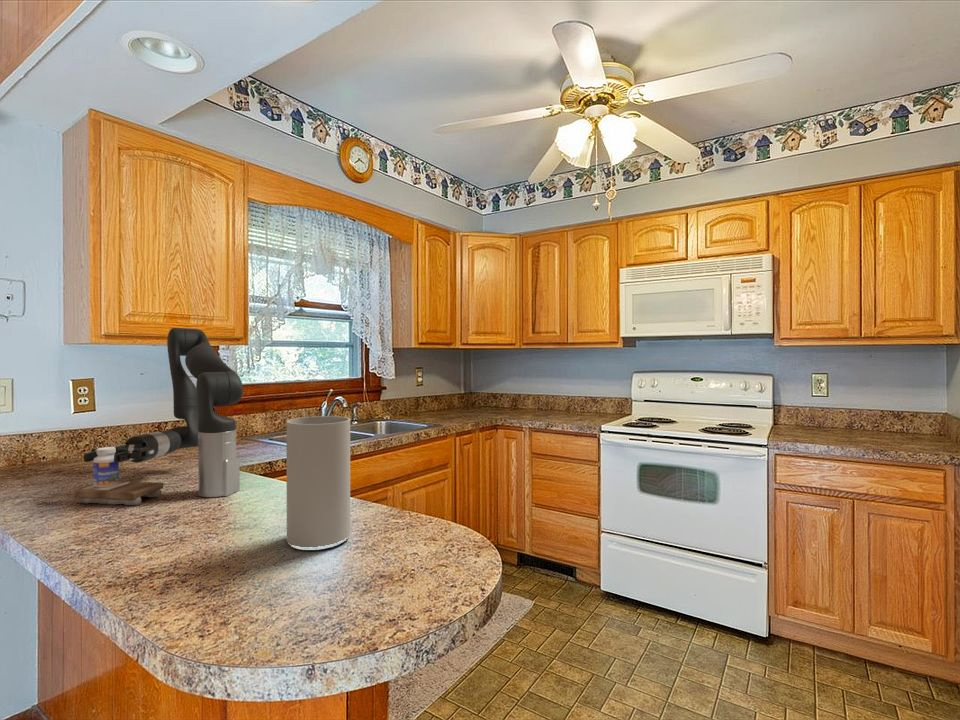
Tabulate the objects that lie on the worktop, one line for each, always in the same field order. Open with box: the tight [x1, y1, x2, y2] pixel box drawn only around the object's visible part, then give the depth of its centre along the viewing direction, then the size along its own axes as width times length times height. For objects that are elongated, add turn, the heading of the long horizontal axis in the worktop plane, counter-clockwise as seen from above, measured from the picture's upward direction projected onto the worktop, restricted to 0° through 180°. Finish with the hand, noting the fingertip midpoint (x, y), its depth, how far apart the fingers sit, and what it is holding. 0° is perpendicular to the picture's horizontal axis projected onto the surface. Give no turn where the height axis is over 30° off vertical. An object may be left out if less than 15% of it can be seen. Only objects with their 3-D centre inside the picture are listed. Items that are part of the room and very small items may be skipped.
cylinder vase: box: [285, 415, 351, 547], centre depth 104 cm, size 12×12×25 cm
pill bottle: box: [92, 446, 120, 488], centre depth 132 cm, size 5×5×10 cm
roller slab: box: [74, 480, 164, 506], centre depth 131 cm, size 16×10×4 cm, turn 84°
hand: (100, 458), depth 130 cm, fingers open, 8 cm apart
